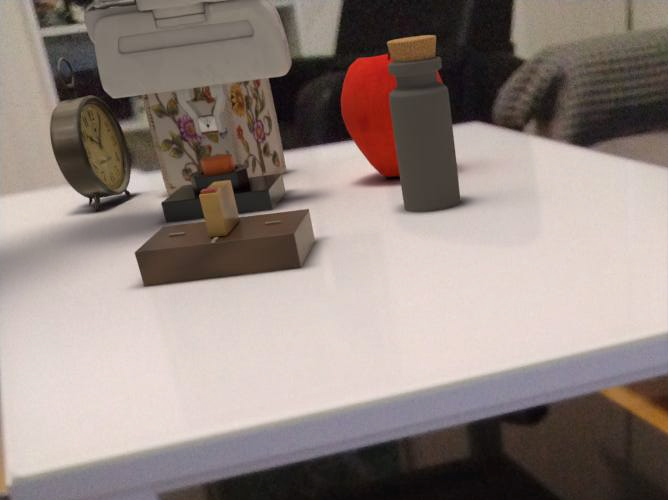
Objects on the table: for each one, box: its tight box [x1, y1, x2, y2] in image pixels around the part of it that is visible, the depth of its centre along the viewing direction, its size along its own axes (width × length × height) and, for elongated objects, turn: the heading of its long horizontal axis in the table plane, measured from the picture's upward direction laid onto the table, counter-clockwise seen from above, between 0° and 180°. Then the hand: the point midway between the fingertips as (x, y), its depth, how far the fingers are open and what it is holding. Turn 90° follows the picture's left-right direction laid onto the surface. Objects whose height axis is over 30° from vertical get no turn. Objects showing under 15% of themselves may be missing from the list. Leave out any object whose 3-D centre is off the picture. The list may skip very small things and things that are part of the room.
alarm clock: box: [49, 56, 132, 213], centre depth 123 cm, size 11×5×16 cm, turn 171°
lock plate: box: [134, 208, 316, 287], centre depth 92 cm, size 14×10×3 cm
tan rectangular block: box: [199, 180, 240, 237], centre depth 90 cm, size 6×2×4 cm, turn 0°
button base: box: [160, 164, 287, 224], centre depth 116 cm, size 12×10×4 cm
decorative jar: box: [141, 78, 287, 196], centre depth 125 cm, size 12×12×18 cm
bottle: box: [386, 34, 461, 213], centre depth 101 cm, size 6×6×15 cm
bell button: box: [200, 154, 236, 175], centre depth 114 cm, size 4×4×2 cm
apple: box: [340, 47, 444, 178], centre depth 117 cm, size 12×12×13 cm
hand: (211, 133), depth 113 cm, fingers closed
